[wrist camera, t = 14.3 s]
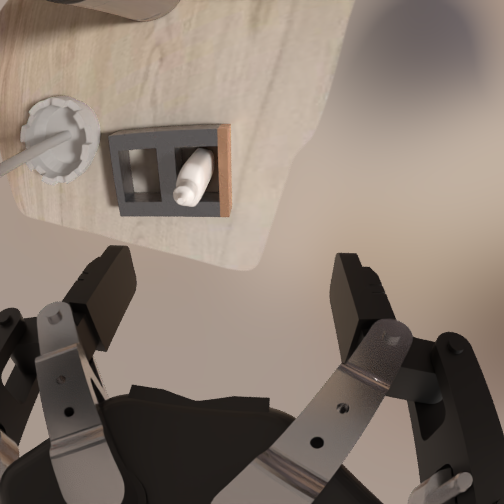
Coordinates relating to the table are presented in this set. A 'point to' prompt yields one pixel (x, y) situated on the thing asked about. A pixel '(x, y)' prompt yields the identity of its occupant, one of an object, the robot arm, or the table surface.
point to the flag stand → (57, 140)
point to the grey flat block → (171, 169)
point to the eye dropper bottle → (194, 178)
